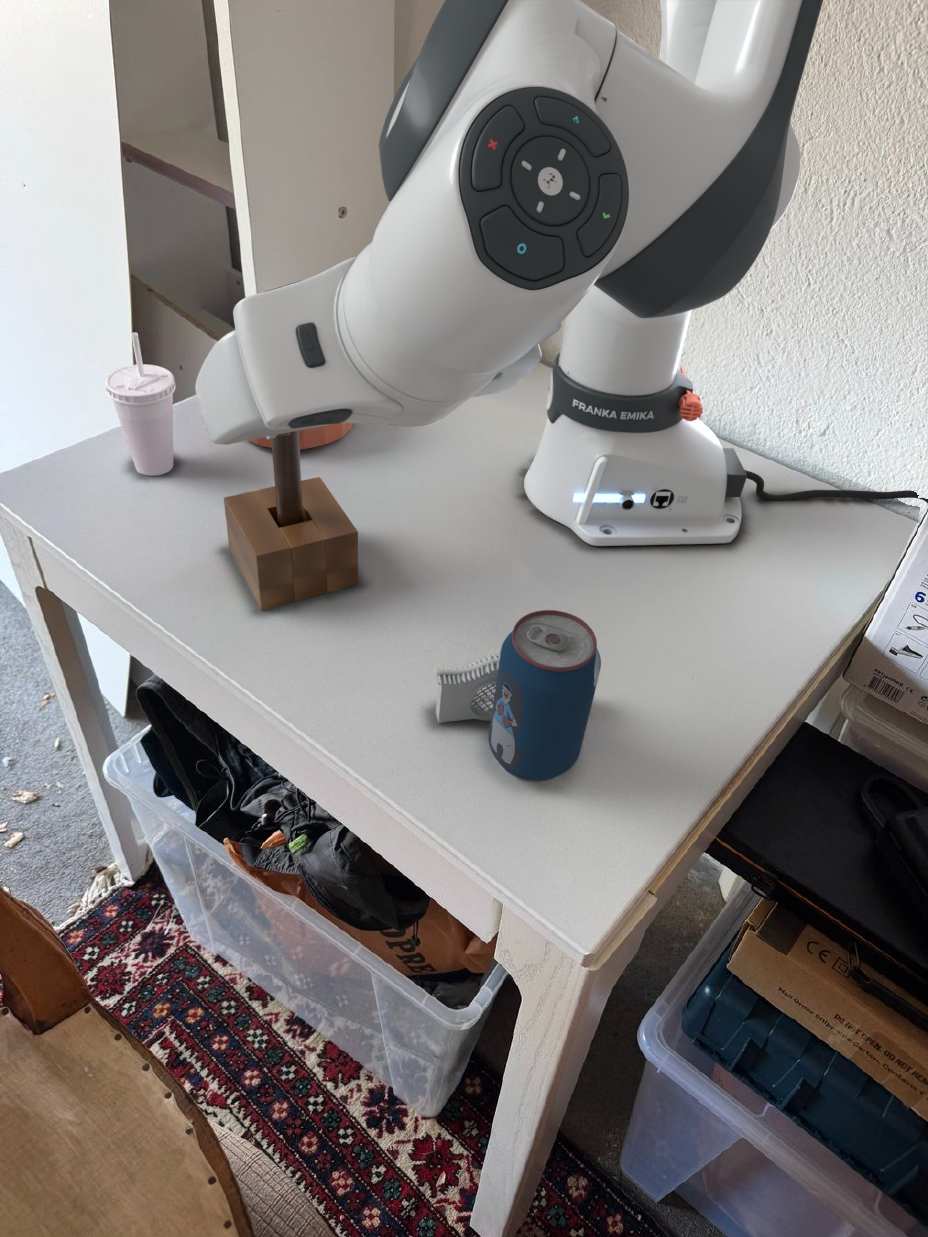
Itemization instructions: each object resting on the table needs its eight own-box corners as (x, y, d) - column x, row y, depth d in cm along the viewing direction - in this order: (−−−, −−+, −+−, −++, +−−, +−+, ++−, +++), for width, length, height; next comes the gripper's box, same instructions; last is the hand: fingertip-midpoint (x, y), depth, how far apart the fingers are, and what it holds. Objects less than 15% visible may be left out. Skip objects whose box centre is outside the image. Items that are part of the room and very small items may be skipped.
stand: (321, 529, 89) (319, 476, 85) (358, 584, 83) (358, 531, 79) (229, 551, 85) (223, 497, 81) (261, 611, 80) (256, 556, 76)
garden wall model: (576, 694, 75) (588, 642, 71) (582, 711, 74) (595, 658, 70) (430, 711, 72) (434, 657, 69) (435, 728, 71) (439, 674, 67)
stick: (307, 561, 85) (296, 335, 70) (302, 576, 83) (290, 348, 69) (283, 559, 85) (267, 332, 70) (278, 574, 83) (261, 345, 69)
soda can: (589, 738, 72) (619, 624, 64) (559, 803, 67) (587, 688, 59) (507, 706, 73) (525, 591, 65) (472, 767, 69) (487, 652, 61)
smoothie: (195, 452, 97) (178, 325, 87) (175, 486, 92) (154, 356, 83) (135, 445, 97) (111, 317, 88) (111, 479, 92) (83, 347, 83)
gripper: (560, 257, 53) (466, 344, 65) (203, 303, 45) (176, 392, 57) (590, 364, 53) (491, 430, 66) (240, 429, 45) (205, 490, 58)
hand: (341, 412), depth 61 cm, fingers open, 8 cm apart
